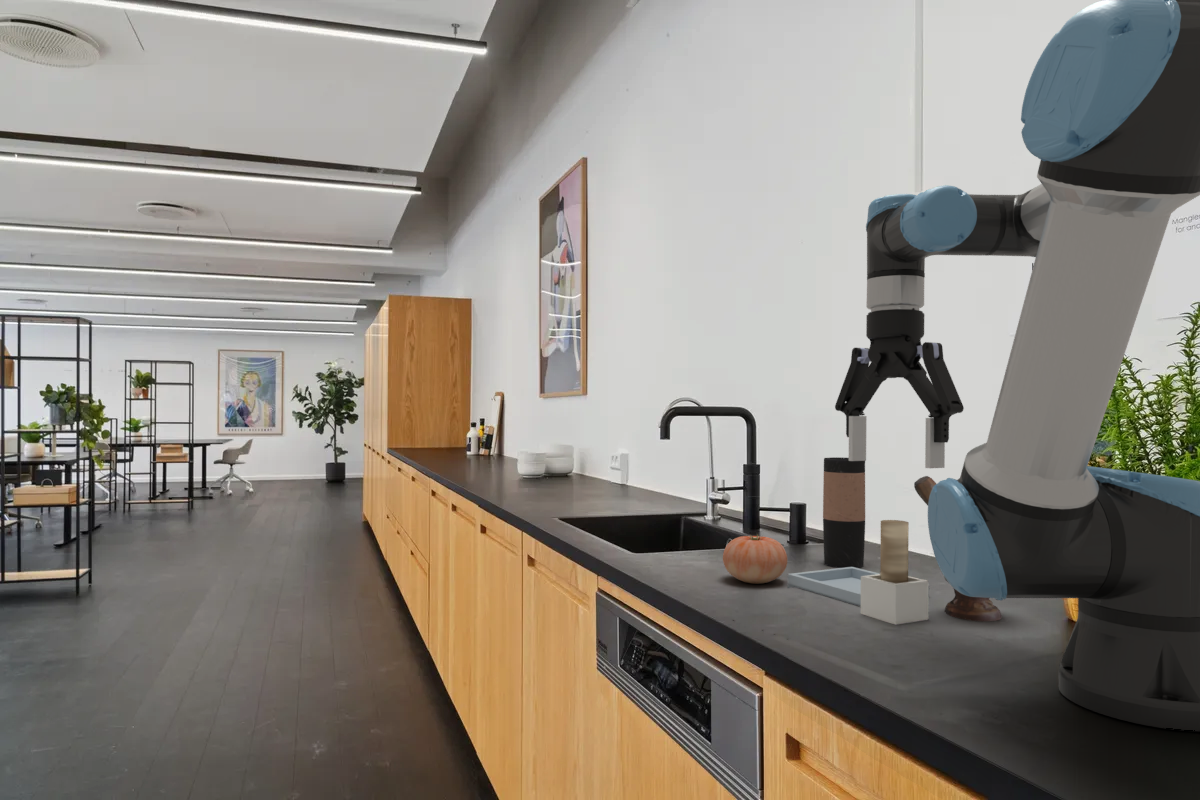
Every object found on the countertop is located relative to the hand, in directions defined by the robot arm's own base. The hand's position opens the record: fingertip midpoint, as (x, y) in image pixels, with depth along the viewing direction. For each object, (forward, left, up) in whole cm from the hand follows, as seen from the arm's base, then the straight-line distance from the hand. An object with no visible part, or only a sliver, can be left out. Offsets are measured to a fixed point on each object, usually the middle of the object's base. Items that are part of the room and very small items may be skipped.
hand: (894, 464), depth 110 cm
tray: (+14, -7, -22) cm, 27 cm away
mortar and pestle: (-3, -9, -22) cm, 24 cm away
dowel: (0, 0, -21) cm, 21 cm away
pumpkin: (+29, +1, -22) cm, 36 cm away
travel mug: (+33, -23, -22) cm, 46 cm away
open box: (0, 0, -22) cm, 22 cm away
